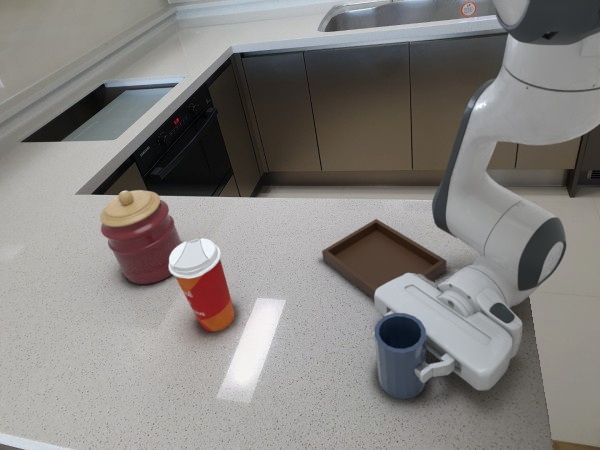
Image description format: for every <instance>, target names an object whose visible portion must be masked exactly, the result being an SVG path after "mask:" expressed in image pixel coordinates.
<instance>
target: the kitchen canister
mask: <svg viewBox="0 0 600 450" xmlns="http://www.w3.org/2000/svg"><path fill="white" fill-rule="evenodd" d="M169 211H170V210H169V205H168V203H166V201H164V200H163V199H161V197H160V196H159V194H158V193H156V192H154V191H150V190H143V189H142V190H141V189H137V190H130V191H129V190H123V191H121V192H119V194H118V195H117V196H115V197H114V198H113V199H111V200H110V201H109V202H108V203H107V204H106V206H105V207H104V208H103V210H102V211H101V213H100V215H99V218H100V222H101V225H100V232H101V234H102V235H103V237H104V238H106V239H107V245H108V248H109V249H110V250H111V251H112V253H113V255H114V257H115V259H116V260H117V263H118V264H119V268H120V271H121V273H122V274H123V275H124V277H126V279H127V280H129V281H130V282H131V283H133V284H137V285H149V284H154V283H158V282H161V281H163V280H165V279H167V278H169V277H171V276H172V275H173V274H172V273H171V272H170V270H169V257H170V254H171V252H172V251H173V250H174V249H175V248H176V247H177V246H178V245H180V244H182V243H183V242H184V241H182V239H181V237H180V235H179V232H178V230H177V227H176V225H175V219H174V218H173V216H171V215H170V214H169Z"/></svg>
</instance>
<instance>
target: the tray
mask: <svg viewBox="0 0 600 450" xmlns="http://www.w3.org/2000/svg"><path fill="white" fill-rule="evenodd" d="M321 255H322V259H323V262H324V263H325V264H327V266H330V267H331V268H332V269H333V270H335V271H336V272H337V273H338V274H339V275H341V276H342V277H343V278H345V279H346V280H347V281H349V282H350V283H351V284H352V285H354V286H355V287H356V288H357V289H359V290H360V291H361V292H363V293H364V294H365V295H366V296H368V297H369V298H370V299H371V300H373V301H374V295H375V291H376V289H377V288H379V287H380V286H382V285H384V284H386V283H387V282H389V281H391V280H393V279H396V278H398V277H400V276H402V275H404V274H406V273H414V274H422V275H423V276H425V277H426V278H427V279H428V280H430V281H432V282H434V281H435V280H436V279H438V278H439V277H441V276H442V275H443V274H445V273H446V272H447V265H448V263H447V260H446V259H444V258H443V257H441V256H440V255H438V254H436V253H434V252H433V251H431V250H429V249H428V248H426V247H424V246H423V245H421V244H419V243H418V242H416V241H414V240H413V239H411V238H409V237H408V236H406V235H404V234H403V233H401V232H399V231H398V230H396V229H394V228H392V227H391V226H389V225H388V224H386V223H384V222H382V221H381V220H379V219H378V218H375V219H373V220H371V221H370V222H368V223H367V224H365V225H363V226H362V227H360V228H358V229H357V230H355V231H353V232H352V233H350V234H348V235H347V236H345V237H343V238H341V239H340V240H338V241H336V242H334V243H333V244H331V245H330V246H328V247H326V248H324V249H323V250H321Z"/></svg>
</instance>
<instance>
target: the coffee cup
mask: <svg viewBox="0 0 600 450" xmlns="http://www.w3.org/2000/svg"><path fill="white" fill-rule="evenodd" d="M182 242H183V243H182V244H180V245H178V246H177V247H176V248H175V249H174V250H173V251H172V252H171V254H170V257H169V270H170V272H171V273H172V275H173V276H174V277H175V279H176V281H177V283H178V285H179V287H180V289H181V291H182V293H183V294H184V296H185V298H186V300H187V302H188V304H189V306H190V307H191V310H192V311H193V313H194V315H195V317H196V318H197V320H198V322H199V324H200V326H201V327H202V328H203V329H204V330H205V331H207V332H212V333H215V332H220V331H223V330H225V329H226V328H229V326H230V325H231V324H232V323H233V321H234V319H235V309H234V304H233V301H232V297H231V294H230V291H229V290H230V289H229V286H228V282H227V279H226V274H225V272H224V271H225V270H224V268H223V264H222V259H221V257H222V256H221V255H222V253H221V249H220V248H219V246H218V245H216V244H215V243H214V241H212V240H210V239H208V238H203V237H201V238H200V239H198V238H195V239H191V240H190V241H182Z"/></svg>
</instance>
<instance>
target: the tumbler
mask: <svg viewBox="0 0 600 450" xmlns="http://www.w3.org/2000/svg"><path fill="white" fill-rule="evenodd" d="M374 331H375V333H374V336H375V341H374V345H375V354H376V355H375V356H376V367H377V376H378V382H379V385H380V387H381V388H382V390H383V391H384V392H385V393H386V394H387V395H388V396H391V397H393V398H396V399H399V400H407V399H409V400H410V399H412V398H415V397H417V396H418V395H419V394H421V393H422V391H424V390H425V389H424V388H425V386H426V382H427V381H426V382H425V383H422V382H421V381H420V380H419V379H418V378H417V377H416V376H414V369H415V368H416V367H417V366H419V365H420V364H421V363H422V362H423V361H425V362H426V363H427V350H426V329H425V327H424V325H423V324H422V322H421V321H420V320H419V319H417V318H416V317H415V316H412V315H409V314H406V313H393V314H389V315H386V316H383V317H382V318H380V319H379V320H378V322H377V323H376V325H375V326H374Z"/></svg>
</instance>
